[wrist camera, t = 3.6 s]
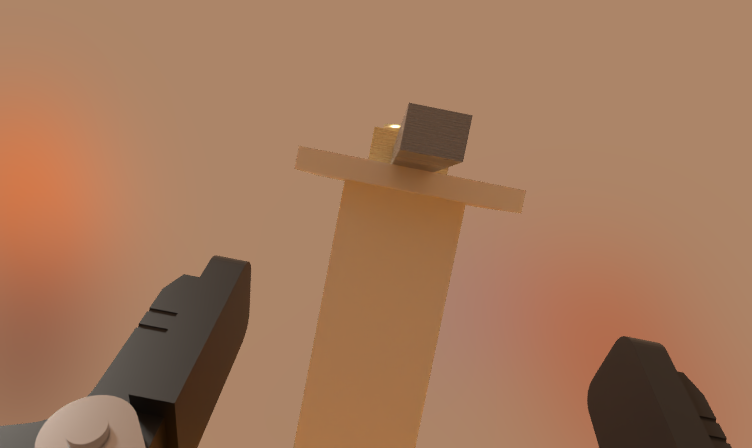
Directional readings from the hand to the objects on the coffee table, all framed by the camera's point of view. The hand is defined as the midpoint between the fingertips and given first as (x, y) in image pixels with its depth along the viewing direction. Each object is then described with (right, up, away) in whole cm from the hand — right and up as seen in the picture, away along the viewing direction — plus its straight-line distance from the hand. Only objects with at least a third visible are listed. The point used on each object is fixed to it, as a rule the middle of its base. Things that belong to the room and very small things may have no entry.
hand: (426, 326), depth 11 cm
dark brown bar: (+1, +5, +17) cm, 18 cm away
